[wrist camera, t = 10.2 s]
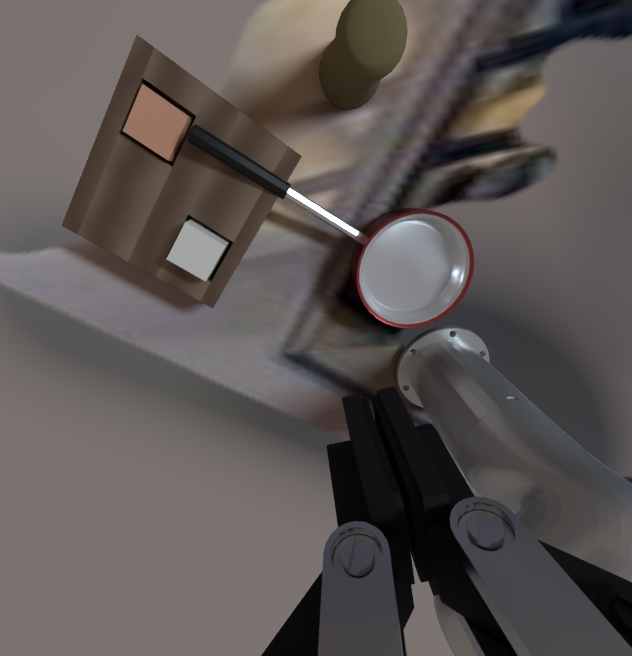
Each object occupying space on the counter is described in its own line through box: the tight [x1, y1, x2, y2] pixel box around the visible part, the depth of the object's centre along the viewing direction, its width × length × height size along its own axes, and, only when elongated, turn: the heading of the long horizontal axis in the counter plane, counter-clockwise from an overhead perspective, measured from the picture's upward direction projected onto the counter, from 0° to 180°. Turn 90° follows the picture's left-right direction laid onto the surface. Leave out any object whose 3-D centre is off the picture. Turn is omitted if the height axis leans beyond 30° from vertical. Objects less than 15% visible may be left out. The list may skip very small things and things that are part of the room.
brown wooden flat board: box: [62, 35, 301, 308], centre depth 35 cm, size 16×18×4 cm
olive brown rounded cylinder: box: [319, 0, 407, 109], centre depth 29 cm, size 6×6×11 cm
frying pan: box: [188, 124, 474, 328], centre depth 37 cm, size 32×13×6 cm, turn 64°
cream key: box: [167, 219, 230, 282], centre depth 35 cm, size 4×4×3 cm
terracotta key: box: [123, 84, 194, 161], centre depth 32 cm, size 4×4×3 cm
